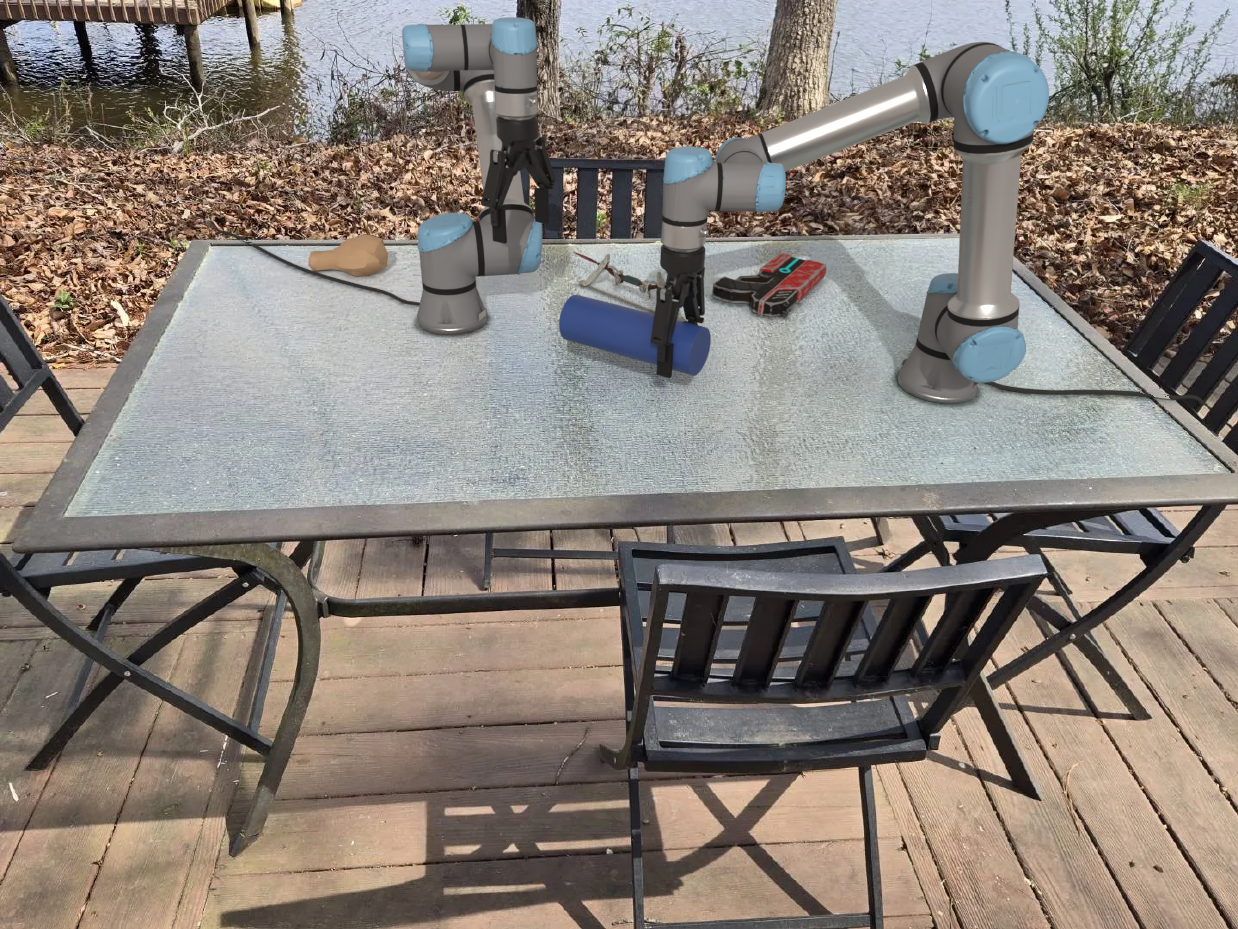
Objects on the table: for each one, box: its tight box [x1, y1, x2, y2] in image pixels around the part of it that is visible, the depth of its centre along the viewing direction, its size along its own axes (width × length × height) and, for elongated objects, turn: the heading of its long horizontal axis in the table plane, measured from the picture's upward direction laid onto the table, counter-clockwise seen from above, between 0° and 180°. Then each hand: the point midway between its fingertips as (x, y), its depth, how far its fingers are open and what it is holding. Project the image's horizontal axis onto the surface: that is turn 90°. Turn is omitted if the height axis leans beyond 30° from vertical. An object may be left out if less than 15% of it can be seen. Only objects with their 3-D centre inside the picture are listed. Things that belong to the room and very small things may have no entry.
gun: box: [711, 252, 827, 318], centre depth 215 cm, size 4×31×19 cm
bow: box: [573, 251, 688, 322], centre depth 205 cm, size 39×2×10 cm, turn 47°
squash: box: [308, 233, 389, 277], centre depth 218 cm, size 11×20×9 cm, turn 90°
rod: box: [558, 294, 712, 377], centre depth 161 cm, size 27×9×9 cm, turn 59°
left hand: (521, 231), depth 168 cm, fingers open, 13 cm apart
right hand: (676, 365), depth 159 cm, fingers closed on rod, 9 cm apart
